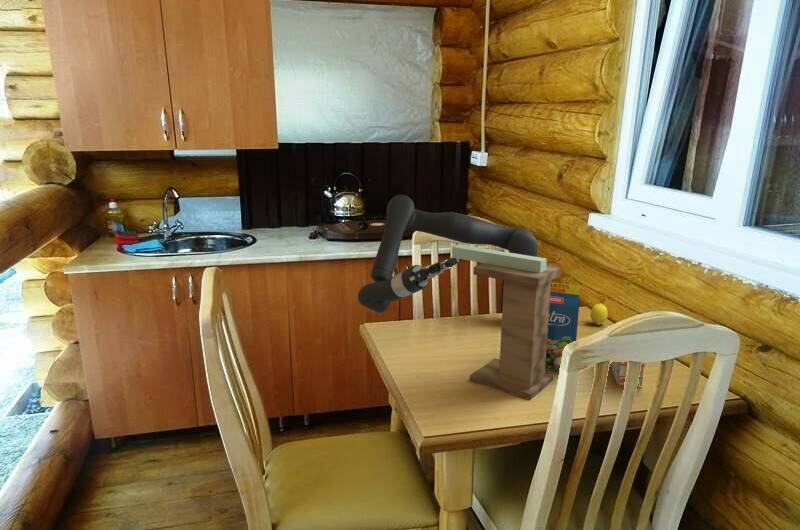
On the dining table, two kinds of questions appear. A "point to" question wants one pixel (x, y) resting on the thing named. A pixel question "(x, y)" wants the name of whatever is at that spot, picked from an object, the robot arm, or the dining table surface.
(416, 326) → the dining table surface
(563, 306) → the blue food package
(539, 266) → the sage bar
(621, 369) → the stack of blocks
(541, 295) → the walnut stand
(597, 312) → the lemon
